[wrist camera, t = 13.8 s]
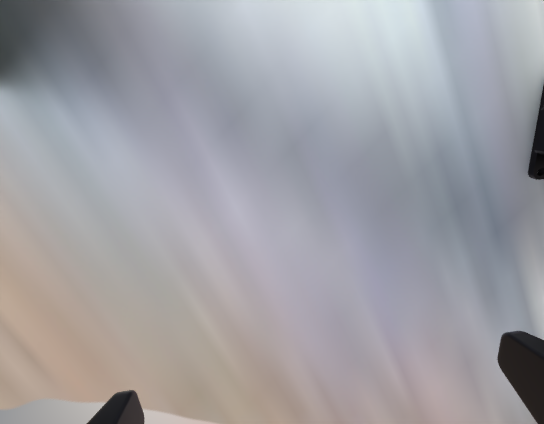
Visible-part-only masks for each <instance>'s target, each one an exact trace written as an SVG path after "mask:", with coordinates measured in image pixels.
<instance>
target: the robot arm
mask: <svg viewBox="0 0 544 424" xmlns="http://www.w3.org/2000/svg"><path fill="white" fill-rule="evenodd" d="M538 170H539V172H538ZM537 172H538V173H537ZM528 175H529V177H531V178H534V179H539V180H540V179H544V86H543V92H542V97H541V103H540V108H539V114H538V120H537V125H536V131H535V136H534V142H533V147H532V153H531V159H530V164H529V170H528ZM498 363H499V366H500V368H501V370H502V371H503V373H504V374H505V376H506V377H507V379H508V380H509V382H510V383H511V385H512V386H513V388H514V389H515V391H516V392H517V394H518V395H519V397H520V398H521V400H522V401H523V403H524V404H525V406H526V407H527V409H528V410H529V412H530V413H531V414H532V416H533V417H534V419H535V420H536V422H537V423H538V424H544V340H542V339H540V338H537V337H535V336H533V335H530V334H528V333H526V332H523V331H514V332H507V333H504V334H503V335H502V337H501V341H500V347H499V352H498ZM87 424H144V413H143V410H142V407H141V404H140V402H139V399H138V396H137V393H136V392H135V391H134V390H129V391H123V392H118V393H116V394H114V395H113V396H112V397H111V398H110V399H109V401H108V402H107V403H106V404H105V405H104V406H103V407H102V408H101V409H100V410H99V411H98V412H97V413H96V414H95V416H94V417H93V418H92V419H91V420H90V421H89V422H88V423H87Z"/></svg>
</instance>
